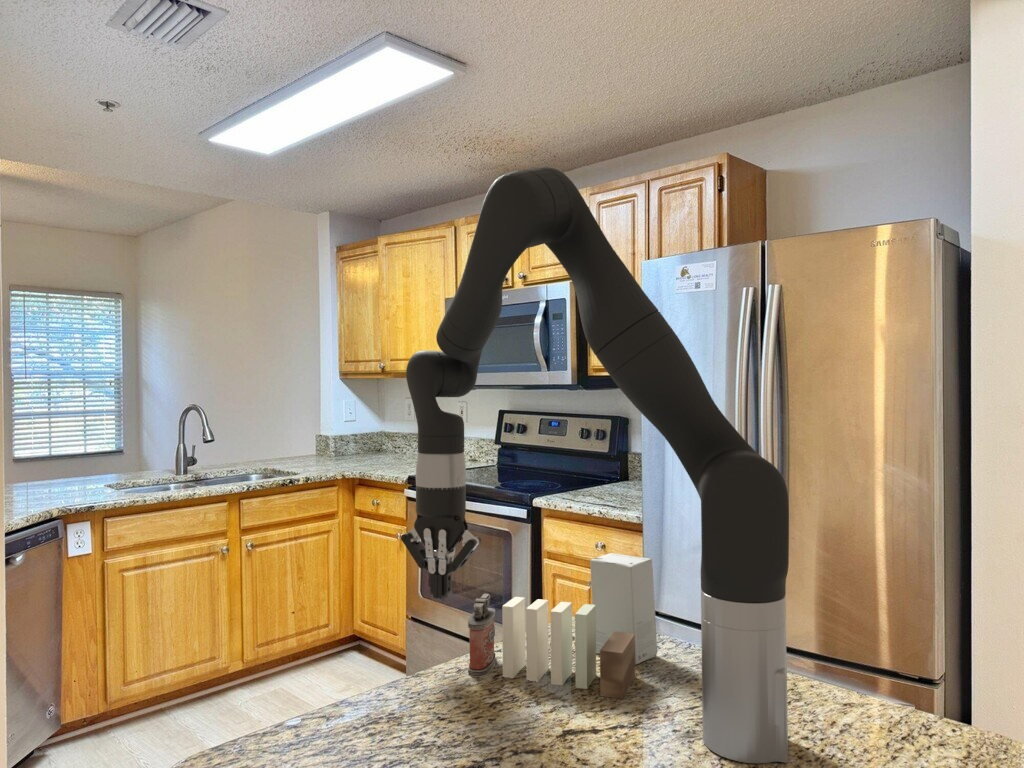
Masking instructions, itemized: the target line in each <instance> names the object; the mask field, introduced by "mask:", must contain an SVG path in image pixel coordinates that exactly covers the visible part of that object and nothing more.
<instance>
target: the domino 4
mask: <svg viewBox="0 0 1024 768" xmlns="http://www.w3.org/2000/svg"><path fill="white" fill-rule="evenodd" d="M574 638H575V639H574V642H575V643H574V646H575V647H574V649H575V652H574V653H575V655H574V656H575V661H574V663H575V665H574V668H575V669H574V670H575V688H577V689H584V690H588V689H589V687H590V685H591V684H592V683H593V682H594V680H595V678H596V676H597V653H596V605H592V603H591V604H589V603H584V604H583V605H582V606H581V607H580V608H579V609H578V610H577V611H576V612H575V613H574Z"/></svg>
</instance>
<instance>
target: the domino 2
mask: <svg viewBox="0 0 1024 768" xmlns="http://www.w3.org/2000/svg"><path fill="white" fill-rule="evenodd" d="M549 644H550V643H549V600H548V599H541V598H540V599H539V598H538V599H536V600H535V601H534V602H532V603H531V604H530V605H529V606H527V607H525V646H526V666H525V667H526V681H528V680H529V681H530V682H535V681H536V682H539V681H540V679H541V678H542V677H543V676H544V675H545V674H546V673H547V671H549V669H550V666H549V664H550V663H549V662H550V661H549V657H550V655H549ZM545 672H546V673H545ZM544 673H545V674H544ZM529 681H528V682H529ZM536 682H535V683H536Z"/></svg>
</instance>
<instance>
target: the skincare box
mask: <svg viewBox="0 0 1024 768" xmlns="http://www.w3.org/2000/svg"><path fill="white" fill-rule="evenodd" d="M589 563H590V582H591V583H590V585H591V602H592V603H591V605H596V654H597V655H600V650H601V648H602V647H603V646H604V644H605V643H606V642H607V640H608V639H609V638H610V636H611V635H612V634H613V632H622V633H630V634H635V665H638V664H641V663H642V662H645V661H648V660H651V659H653V658H656V657H657V654H658V643H657V642H658V638H657V624H656V623H657V621H656V605H655V589H654V588H655V587H654V574H653V572H654V570H653V569H654V568H653V558H647V557H641V556H632V555H628V554H627V555H625V554H620V553H615V552H610V553H607V554H603V555H600V556H597V557H594V558H591V559H590V560H589Z"/></svg>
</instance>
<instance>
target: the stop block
mask: <svg viewBox="0 0 1024 768" xmlns="http://www.w3.org/2000/svg"><path fill="white" fill-rule="evenodd" d="M599 670H600V671H599V677H600V679H599V681H600V683H599V684H600V687H599V688H600V690H599V691H600V697H604V698H605V697H606V698H613V699H619V700H623V699H624V698H625V696H626V694H627V693H628V691H629V689H630V688H631V685H632V683H634V682H633V681H634V680H635V677H636V664H635V634H630V633H622V632H613V634H612V635H611V636H610V638H609V639H608V640H607V642H606V643H605V644H604V646H603V647H602V648H601V650H600V654H599Z"/></svg>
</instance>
